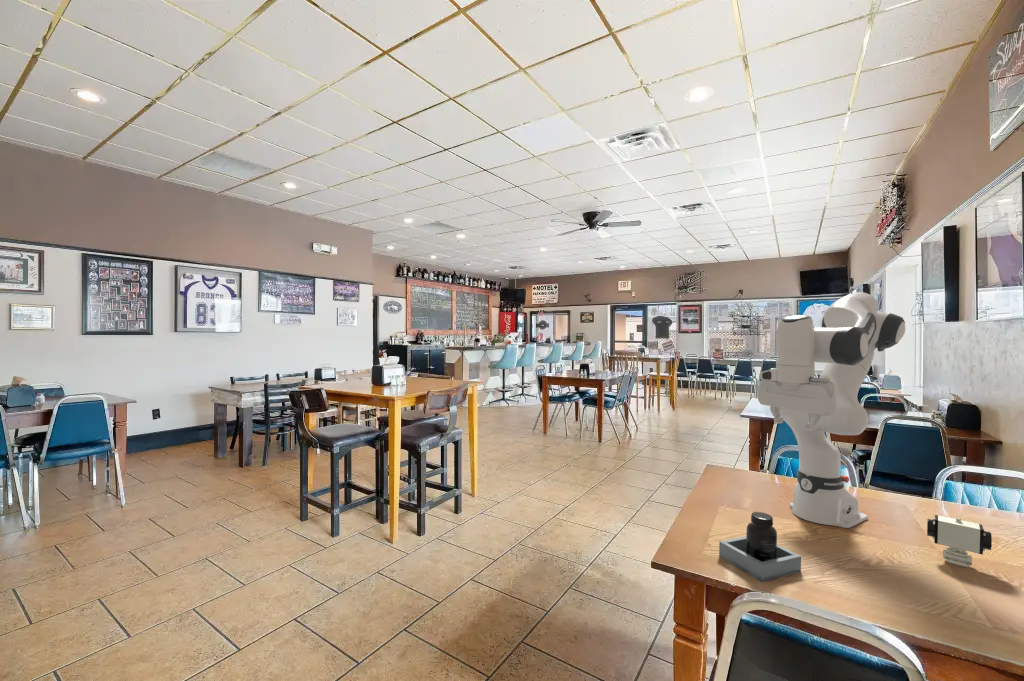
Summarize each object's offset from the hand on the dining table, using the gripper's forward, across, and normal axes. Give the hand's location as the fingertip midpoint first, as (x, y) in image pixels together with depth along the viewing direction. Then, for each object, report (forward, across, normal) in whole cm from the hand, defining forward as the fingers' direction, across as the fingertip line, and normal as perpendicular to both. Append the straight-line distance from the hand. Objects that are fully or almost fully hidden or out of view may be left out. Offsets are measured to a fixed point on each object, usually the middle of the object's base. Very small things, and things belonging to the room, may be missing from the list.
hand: (794, 426), depth 122 cm
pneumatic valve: (+35, -19, -35) cm, 53 cm away
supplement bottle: (+33, -3, +15) cm, 37 cm away
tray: (+34, -2, +15) cm, 37 cm away
